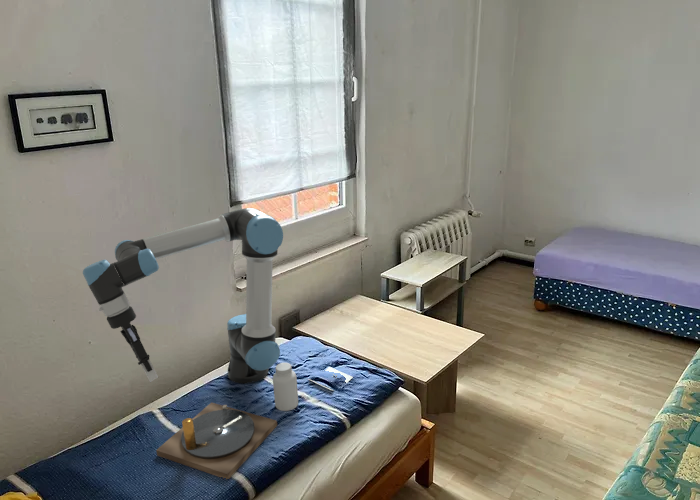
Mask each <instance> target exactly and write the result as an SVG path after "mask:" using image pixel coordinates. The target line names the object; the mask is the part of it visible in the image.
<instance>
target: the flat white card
mask: <svg viewBox="0 0 700 500" xmlns="http://www.w3.org/2000/svg"><path fill="white" fill-rule="evenodd" d="M324 371H329V372H334V373H340V374H341V375H343V376H344V377H345V378H346V380H345V382H346V384H348V383H349V381H351V379H353V378H354V377H353V376H352V375H349V374H347V373H345V372H342V371H340V370H337V369H336V368H333V367H331V366H328V367H327V368H326V369H325V370H324ZM333 375H334V374H333ZM334 376H335V375H334ZM336 377H337V375H336ZM308 381H311V382H314V383H315V384H317V385H319V386H321V387H323V388H326V389H327V390H329V391H333V392H334V391H335V390H333V389H331V388H329V387H327V386H325V385H323V384H321V383H318V382H317V381H315V380H312V379H309V378H308ZM345 382H344V383H345Z"/></svg>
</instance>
